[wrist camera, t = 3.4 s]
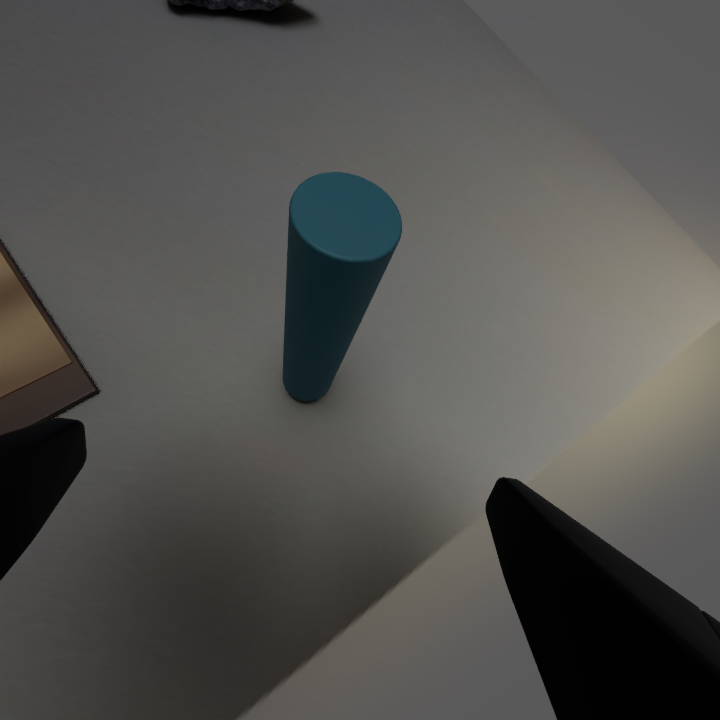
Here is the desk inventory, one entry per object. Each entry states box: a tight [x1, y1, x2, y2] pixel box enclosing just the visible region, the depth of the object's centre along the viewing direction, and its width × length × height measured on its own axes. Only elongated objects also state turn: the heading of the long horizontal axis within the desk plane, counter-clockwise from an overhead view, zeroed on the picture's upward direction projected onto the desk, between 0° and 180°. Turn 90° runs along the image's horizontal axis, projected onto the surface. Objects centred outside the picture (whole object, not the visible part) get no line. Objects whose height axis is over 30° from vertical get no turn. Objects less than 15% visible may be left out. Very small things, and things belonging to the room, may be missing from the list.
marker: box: [283, 172, 402, 403], centre depth 14 cm, size 3×3×14 cm
